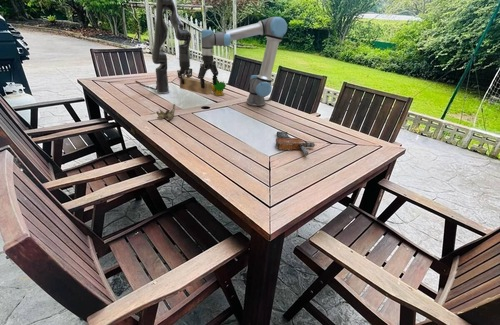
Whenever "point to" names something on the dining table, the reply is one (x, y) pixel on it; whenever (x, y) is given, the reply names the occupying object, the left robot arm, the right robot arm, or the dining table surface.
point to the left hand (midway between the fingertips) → (185, 83)
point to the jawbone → (166, 113)
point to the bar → (196, 86)
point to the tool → (291, 143)
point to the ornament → (218, 87)
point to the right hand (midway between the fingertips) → (209, 86)
